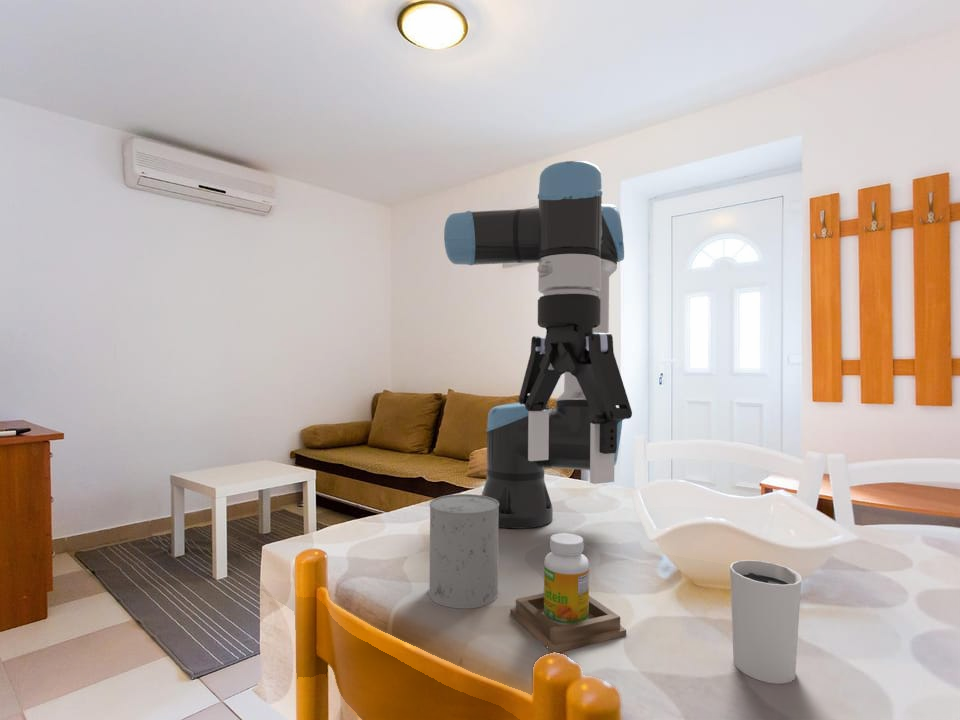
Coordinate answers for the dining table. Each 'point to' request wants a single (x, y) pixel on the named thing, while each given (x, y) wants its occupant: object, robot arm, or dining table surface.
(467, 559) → the gray concrete cylinder
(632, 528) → the dining table surface
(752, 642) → the white cup
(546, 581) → the supplement bottle
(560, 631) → the walnut holder
